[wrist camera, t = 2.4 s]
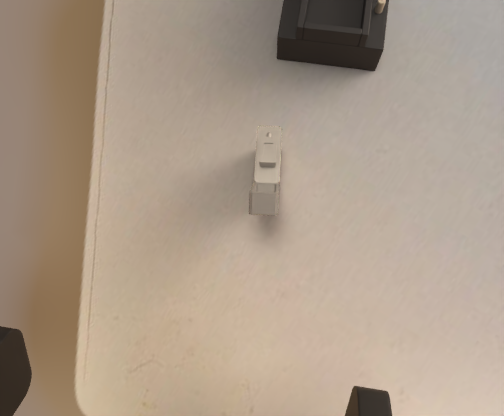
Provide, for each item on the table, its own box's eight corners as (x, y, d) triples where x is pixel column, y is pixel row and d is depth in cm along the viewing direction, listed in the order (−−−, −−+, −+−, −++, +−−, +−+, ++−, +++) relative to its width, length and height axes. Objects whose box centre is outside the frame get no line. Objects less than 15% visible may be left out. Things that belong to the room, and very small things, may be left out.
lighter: (259, 148, 37) (255, 100, 29) (281, 149, 37) (283, 101, 29) (253, 237, 35) (248, 212, 27) (276, 238, 35) (278, 213, 27)
